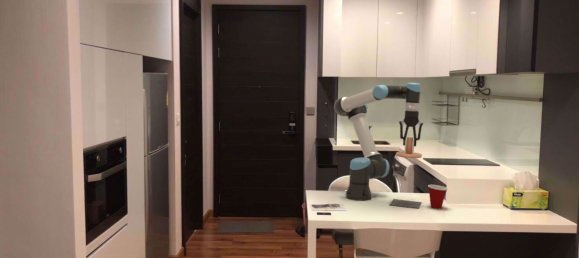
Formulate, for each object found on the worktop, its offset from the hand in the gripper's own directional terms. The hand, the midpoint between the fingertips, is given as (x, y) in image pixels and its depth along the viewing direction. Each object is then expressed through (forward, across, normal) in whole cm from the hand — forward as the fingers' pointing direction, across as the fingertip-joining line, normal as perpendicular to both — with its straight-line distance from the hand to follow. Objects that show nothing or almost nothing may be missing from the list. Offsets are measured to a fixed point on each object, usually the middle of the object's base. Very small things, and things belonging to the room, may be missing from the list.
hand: (409, 151), depth 281 cm
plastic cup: (+30, +17, 0) cm, 35 cm away
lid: (+3, 0, 0) cm, 3 cm away
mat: (+30, 0, 0) cm, 30 cm away
